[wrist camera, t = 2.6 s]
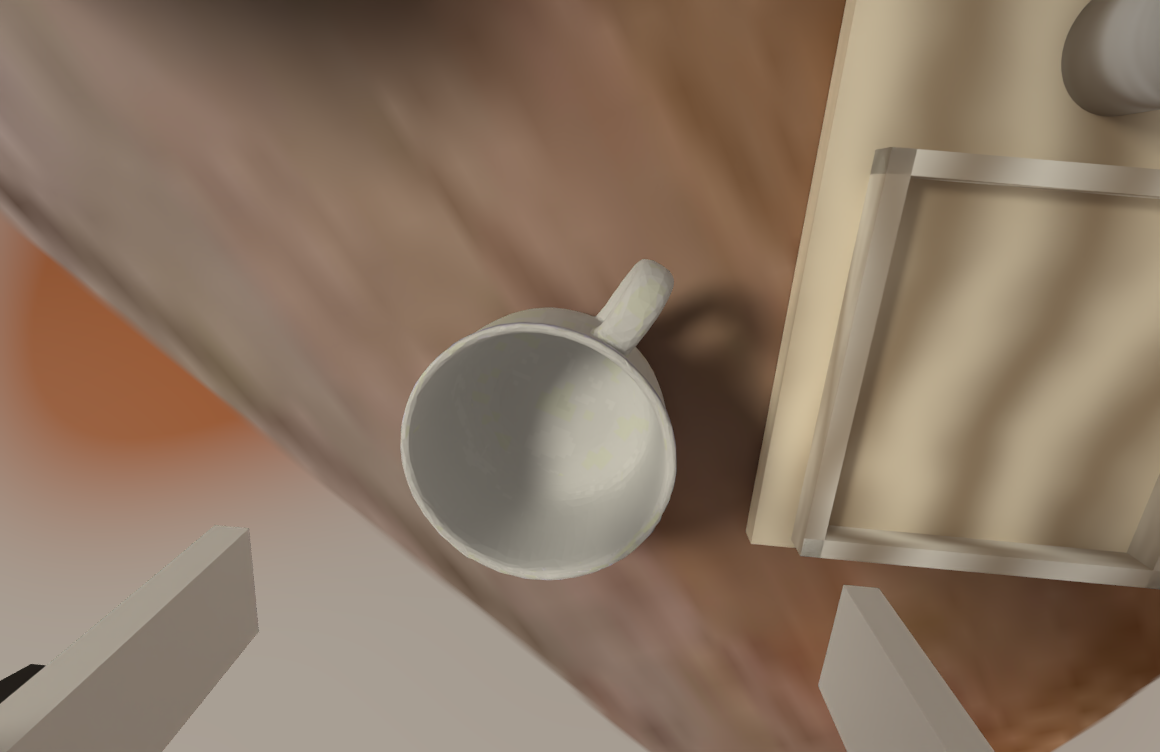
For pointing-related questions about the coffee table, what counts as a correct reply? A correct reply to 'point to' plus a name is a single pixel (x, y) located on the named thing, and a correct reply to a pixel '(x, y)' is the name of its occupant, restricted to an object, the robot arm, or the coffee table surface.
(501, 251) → the coffee table surface
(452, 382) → the teacup
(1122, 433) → the carrier board
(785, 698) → the coffee table surface
